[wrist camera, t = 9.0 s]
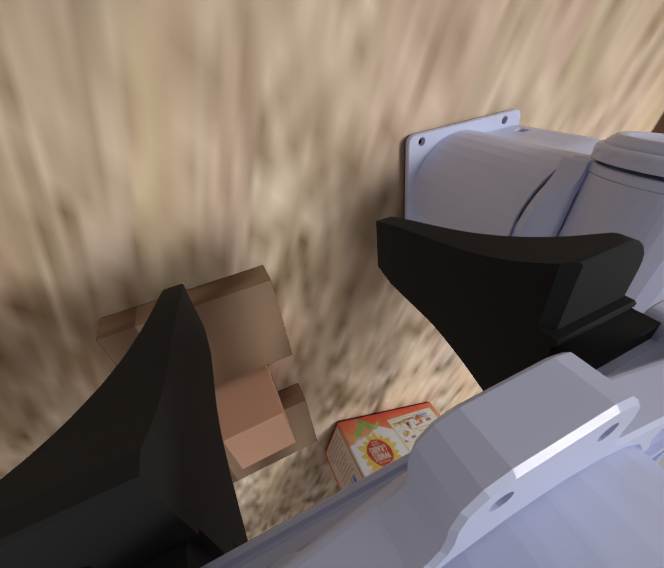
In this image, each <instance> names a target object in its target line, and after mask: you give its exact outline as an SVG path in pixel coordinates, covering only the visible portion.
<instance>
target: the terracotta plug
mask: <svg viewBox="0 0 664 568" xmlns="http://www.w3.org/2000/svg"><path fill="white" fill-rule="evenodd" d="M215 395H216V404H217V410H218V416H219V422H220V428H221V434H222V438H223V442H224V444H225V445H226V446H227V448H228V449H229V451H230V452H231V453H232V455H233V456H234V458H235V459H236V460H237V462H238V463H239V465H240V466H241V467H242V469H244V468H246V467H248V466H250V465H252V464H254V463H256V462H258V461H260V460H262V459H264V458H266V457H268V456H270V455H272V454H274V453H276V452H278V451H280V450H282V449H283V448H285V447H287V446H289V445H291V444H293V443H295V442H296V441H295V439H294V436H293V433H292V430H291V428H290V425H289V422H288V419H287V417H286V414H285V411H284V408H283V406H282V403H281V400H280V397H279V395H278V392H277V389H276V386H275V383H274V381H273V378H272V376H271V374H270V371H269V369H268V367H267V365H265V366H263V367H260V368H258V369H256V370H253V371H251V372H248V373H246V374H243V375H241V376H239V377H236V378H234V379H231V380H229V381H226V382H224V383H222V384H219V385H217V386H215Z"/></svg>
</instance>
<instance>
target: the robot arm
mask: <svg viewBox="0 0 664 568" xmlns="http://www.w3.org/2000/svg"><path fill="white" fill-rule="evenodd" d="M502 119H503V120H502ZM519 120H520V111H519V110H518V109H511V110H507V111H503V112H499V113H495V114H491V115H487V116H483V117H479V118H475V119H471V120H467V121H463V122H459V123H456V124H452V125H448V126H444V127H440V128H436V129H432V130H428V131H424V132H420V133H416V134H412V135H410V136H409V137H408V139H407V141H406V164H405V219H403V218H397V217H388V218H385V219H382V220H379V221H376V226H377V251H378V266H379V268H380V269H381V271H382V272H383V273H384V275H385V276H386V277H387V279H388V280H389V281H390V282H391V284H392V285H393V286H394V287H395V288H396V289H397V290H398V291H399V292H400V293H401V294H402V295H403V296H404V297H405V298H406V299H407V300H408V301H409V302H410V303H412V304H413V305H414V306H415V307H416V308H417V309H418V310H419V311H420V312H421V313H422V314H423V315H424V316H425V317H426V318H427V319H428V320H429V321H430V322H431V323H432V324H433V325H434V326H435V328H436V329H437V330H438V331H439V332H440V334H441V335H442V336H443V337H444V338H445V340H446V341H447V342H448V343H449V345H450V346H451V347H452V348H453V350H454V351H455V352H456V354H457V355H458V356H459V358H460V359H461V360H462V362H463V363H464V364H465V366H466V367H467V368H468V370H469V371H470V373H471V374H472V375H473V377H474V378H475V380H476V381H477V382H478V384H479V385H480V387H481V388H482V390H483V392H481V393H479V394H477V395H475V396H473V397H471V398H469V399H467V400H466V401H464V402H462V403H460V404H458V405H456V406H454V407H453V408H451V409H450V410H448V411H447V412H446V413H444V414H443V415H441V416H440V417H438V418H437V419H435V420H434V421H432V423H431V424H430V425H429V426H428V427H427V428H426V429H425V430H424V431H423V432H422V433H421V435H420V436H419V437H418V438H417V439H416V440H415V443H414V445H413V447H412V450H411V452H410V453H408V454H406V455H404V456H403V457H401V458H399V459H397V460H395V461H393V462H392V463H390V464H388V465H386V466H384V467H382V468H381V469H379V470H377V471H375V472H373V473H372V474H370V475H368V476H366V477H364V478H362V479H361V480H359V481H357V482H355V483H353V484H352V485H350V486H348V487H346V488H344V489H342V490H341V491H339V492H337V493H335V494H333V495H331V496H330V497H328V498H326V499H324V500H322V501H321V502H319V503H317V504H315V505H313V506H311V507H310V508H308V509H306V510H304V511H302V512H300V513H299V514H297V515H295V516H293V517H291V518H290V519H288V520H286V521H284V522H282V523H280V524H279V525H277V526H275V527H273V528H271V529H269V530H268V531H266V532H264V533H262V534H260V535H259V536H257V537H255V538H253V539H251V540H249V541H248V540H247V536H246V532H245V529H244V525H243V521H242V517H241V513H240V510H239V506H238V502H237V498H236V494H235V490H234V486H233V482H232V477H231V473H230V469H229V465H228V460H227V456H226V452H225V448H224V443H223V438H222V434H221V429H220V425H219V419H218V413H217V405H216V395H215V385H214V375H213V366H212V357H211V351H210V347H209V342H208V339H207V335H206V331H205V328H204V326H203V324H202V322H201V320H200V318H199V316H198V314H197V312H196V310H195V308H194V306H193V304H192V301H191V299H190V297H189V295H188V293H187V291H186V289H185V287H184V285H183V284H180V285H177V286H174V287H171V288H168V289H165V290H163V291H162V293H161V295H160V297H159V298H158V300H157V302H156V304H155V306H154V308H153V310H152V312H151V313H150V315H149V317H148V319H147V321H146V322H145V324H144V326H143V328H142V329H141V331H140V333H139V334H138V336H137V337H136V339H135V340H134V342H133V344H132V345H131V347H130V348H129V350H128V351H127V353H126V354H125V356H124V357H123V358H122V360H121V361H120V362H119V364H118V365H117V366H116V368H115V369H114V370H113V371H112V373H111V374H110V375H109V376H108V378H107V379H106V380H105V381H104V383H103V384H102V385H101V386H100V387H99V388H98V389H97V390H96V391H95V393H94V394H93V395H92V396H91V397H90V398H89V399H88V400H87V401H86V402H85V403H84V404H83V405H82V406H81V408H80V409H79V410H78V411H77V412H76V413H75V414H74V415H73V416H72V417H71V418H70V419H69V420H68V421H67V422H66V423H65V424H64V425H63V426H62V427H61V428H60V429H58V430H57V431H56V432H55V433H54V434H53V435H52V436H51V437H50V438H49V439H48V440H47V441H45V442H44V443H43V444H42V445H41V446H40V447H39V448H38V449H37V450H36V451H34V452H33V453H32V454H31V455H30V456H29V457H27V458H26V459H25V460H24V461H23V462H22V463H20V464H19V465H18V466H17V467H15V468H14V469H13V470H12V471H11V472H9V473H8V474H7V475H6V476H5V477H3V478H2V479H1V480H0V568H664V468H662V467H661V466H660V465H659V464H657V462H659V461H660V460H661V459H662V458H664V134H661V133H649V132H632V131H623V132H617V133H616V134H614V135H612V136H610V137H608V138H607V139H606V140H598V139H595V138H591V137H585V136H580V135H574V134H568V133H562V132H556V131H551V130H545V129H539V128H533V127H527V126H522V125H519ZM420 138H421V139H422V140H421V143H420V144H419V140H420Z"/></svg>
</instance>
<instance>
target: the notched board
mask: <svg viewBox="0 0 664 568" xmlns="http://www.w3.org/2000/svg"><path fill="white" fill-rule="evenodd" d="M186 291H187V293H188V295H189V297H190V299H191V301H192V304H193V306H194V308H195V310H196V312H197V314H198V316H199V318H200V320H201V322H202V324H203V326H204V328H205V331H206V335H207V339H208V342H209V347H210V351H211V357H212V366H213V375H214V385H215V386H217V385H219V384H222V383H224V382H226V381H229V380H231V379H234V378H236V377H239V376H241V375H243V374H246V373H248V372H251V371H253V370H256V369H258V368H260V367H263V366H265V365H268V364H270V363H273V362H275V361H277V360H280V359H282V358H285V357H287V356H290V355H292V352H291V348H290V345H289V341H288V338H287V334H286V331H285V327H284V324H283V320H282V317H281V313H280V310H279V306H278V303H277V299H276V296H275V292H274V289H273V286H272V282H271V279H270V277H269V275H268V274H267V272H266V270H265V268H264V266H263V265H262V266H259V267H256V268H253V269H250V270H247V271H244V272H241V273H238V274H235V275H232V276H229V277H226V278H223V279H220V280H217V281H214V282H211V283H208V284H204V285H201V286H198V287H195V288H192V289H189V290H186ZM156 302H157V300H156V301H153V302H150V303H147V304H144V305H140V306H137V307H134V308H131V309H128V310H125V311H122V312H119V313H116V314H113V315H110V316H107V317H104V318H101V320H100V325H99V329H98V334H97V338H96V341H97V342H98V343H99V345H100V346H101V347H102V348H103V350H104V351H105V352H106V353H107V355H108V356H109V357H110V358H111V360H112V361H113V362H114V363H115V365H116V366H117V365H118V364H119V362H120V361H121V360H122V358H123V357H124V356H125V354H126V353H127V351H128V350H129V348H130V347H131V345H132V344H133V342H134V340H135V339H136V337H137V336H138V334H139V333H140V331H141V329H142V328H143V326H144V324H145V322H146V321H147V319H148V317H149V315H150V313H151V312H152V310H153V308H154V306H155V304H156ZM278 395H279V397H280V400H281V403H282V406H283V408H284V411H285V414H286V417H287V419H288V422H289V425H290V428H291V430H292V433H293V436H294V439H295V441H296V442H295V443H293V444H291V445H289V446H287V447H285V448H283V449H282V450H280V451H278V452H276V453H274V454H272V455H270V456H268V457H266V458H264V459H262V460H260V461H258V462H256V463H254V464H252V465H250V466H248V467H246V468H244V469H242V467H241V466H240V465H239V463H238V462H237V460H236V459H235V458H234V456H233V455H232V453H231V452H230V451H229V449H228V448H227V446H226V445H225V444H224V448H225V452H226V456H227V460H228V465H229V469H230V473H231V477H232V482H233V483H234V482H236V481H238V480H240V479H242V478H244V477H246V476H248V475H250V474H252V473H254V472H256V471H258V470H260V469H262V468H264V467H266V466H268V465H270V464H272V463H274V462H276V461H278V460H280V459H282V458H284V457H286V456H288V455H290V454H292V453H294V452H296V451H298V450H300V449H302V448H304V447H306V446H308V445H310V444H312V443H314V442H316V441H317V438H316V435H315V432H314V428H313V425H312V421H311V418H310V414H309V411H308V407H307V404H306V400H305V398H304V396H303V393H302V391H301V389H300V387H299V384H298V383H297V384H295V385H293V386H290V387H288V388H286V389H284V390H281V391H279V392H278ZM218 419H219V418H218ZM219 425H220V422H219ZM220 429H221V428H220ZM223 443H224V442H223Z"/></svg>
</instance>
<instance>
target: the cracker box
mask: <svg viewBox="0 0 664 568" xmlns="http://www.w3.org/2000/svg"><path fill="white" fill-rule="evenodd" d="M438 417H440V414H439V413H438V412H437V411H436V409H435V408H434V407H433V406H432V404H431V403H430V402H427V403H422V404H418V405H414V406H409V407H405V408H400V409H396V410H391V411H387V412H382V413H378V414H373V415H369V416H365V417H360V418H355V419H351V420H346V421H342V422H339V423H337V425H336V428H335V430H334V433H333V435H332V437H331V440H330V442H329V445H328V447H327V449H326V452H325V455H326V457H327V460H328V462H329V464H330V467H331V469H332V472H333V474H334V476H335V479H336V481H337V483H338V486H339V488H340V490H342V489H344V488H346V487H348V486H350V485H352V484H353V483H355V482H357V481H359V480H361V479H362V478H364V477H366V476H368V475H370V474H372V473H373V472H375V471H377V470H379V469H381V468H382V467H384V466H386V465H388V464H390V463H392V462H393V461H395V460H397V459H399V458H401V457H403V456H404V455H406V454H408V453H410V452H411V450H412V447H413V445H414V443H415V440H416V439H417V438H418V437H419V436H420V435H421V433H422V432H423V431H424V430H425V429H426V428H427V427H428V426H429V425H430V424H431V423H432V421H434V420H435V419H437V418H438Z"/></svg>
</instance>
